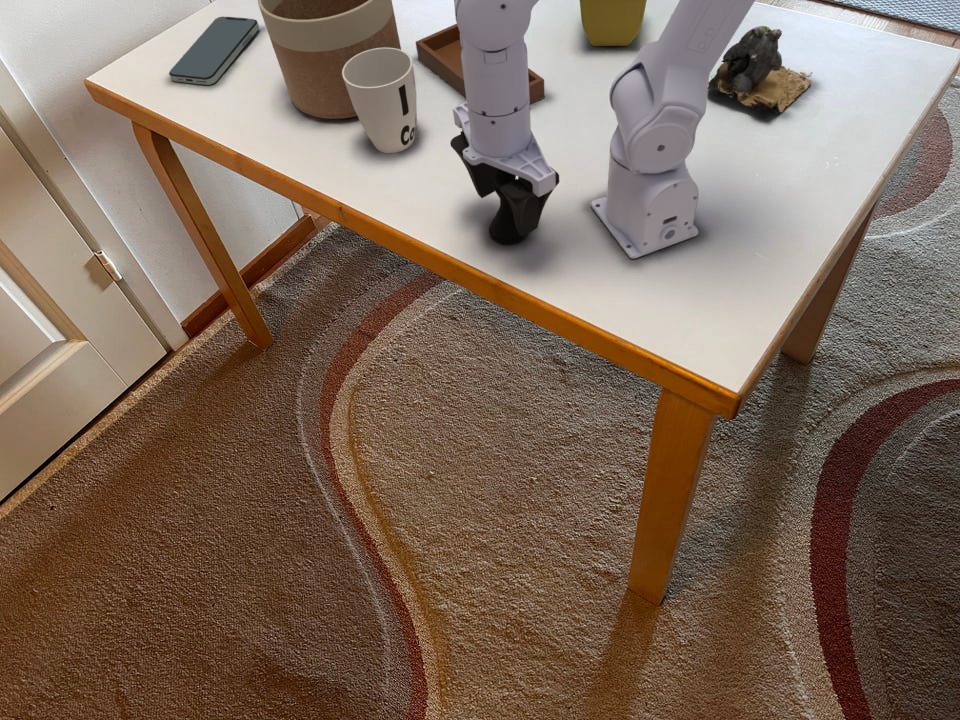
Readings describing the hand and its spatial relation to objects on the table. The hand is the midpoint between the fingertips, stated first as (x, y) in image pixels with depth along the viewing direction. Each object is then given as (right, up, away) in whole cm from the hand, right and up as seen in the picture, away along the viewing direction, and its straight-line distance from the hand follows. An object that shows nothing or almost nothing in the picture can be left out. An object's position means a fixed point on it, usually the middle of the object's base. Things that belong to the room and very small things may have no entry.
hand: (507, 211), depth 76 cm
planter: (-21, +21, +22) cm, 37 cm away
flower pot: (+15, +29, +23) cm, 40 cm away
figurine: (+31, +17, +13) cm, 38 cm away
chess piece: (0, -2, +3) cm, 3 cm away
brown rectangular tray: (-3, +22, +20) cm, 30 cm away
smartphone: (-42, +29, +30) cm, 59 cm away
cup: (-14, +12, +14) cm, 23 cm away
